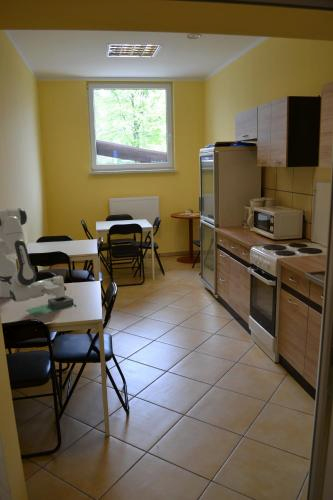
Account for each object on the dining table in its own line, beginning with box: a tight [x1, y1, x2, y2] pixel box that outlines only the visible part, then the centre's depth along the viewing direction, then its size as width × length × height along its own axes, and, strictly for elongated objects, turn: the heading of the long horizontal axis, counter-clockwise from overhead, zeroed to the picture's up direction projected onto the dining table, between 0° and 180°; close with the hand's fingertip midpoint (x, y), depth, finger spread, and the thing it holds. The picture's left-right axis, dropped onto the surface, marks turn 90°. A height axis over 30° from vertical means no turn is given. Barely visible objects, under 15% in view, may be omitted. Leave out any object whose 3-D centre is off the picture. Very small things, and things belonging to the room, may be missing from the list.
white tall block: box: [52, 270, 66, 297], centre depth 244 cm, size 4×4×16 cm
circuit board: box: [25, 303, 77, 317], centre depth 243 cm, size 15×26×1 cm, turn 131°
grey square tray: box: [47, 294, 75, 309], centre depth 247 cm, size 11×11×4 cm
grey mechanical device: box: [44, 277, 67, 291], centre depth 279 cm, size 18×10×12 cm
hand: (60, 284), depth 245 cm, fingers closed on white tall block, 4 cm apart
